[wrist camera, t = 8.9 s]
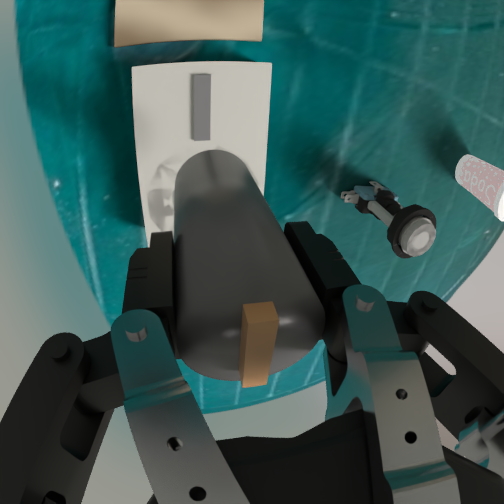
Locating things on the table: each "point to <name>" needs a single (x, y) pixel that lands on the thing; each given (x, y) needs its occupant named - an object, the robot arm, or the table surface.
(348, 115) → the table surface
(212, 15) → the board
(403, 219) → the push button
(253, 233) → the dark grey cylinder
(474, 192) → the beverage cup
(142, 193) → the light grey boxy piece
